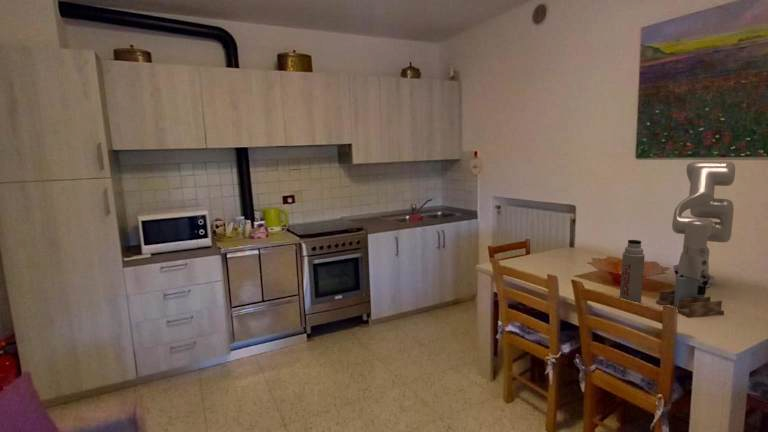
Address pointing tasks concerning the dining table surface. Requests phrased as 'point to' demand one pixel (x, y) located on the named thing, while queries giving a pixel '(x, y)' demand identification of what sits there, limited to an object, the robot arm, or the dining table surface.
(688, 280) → the grey square block
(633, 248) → the thermos bottle
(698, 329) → the dining table surface
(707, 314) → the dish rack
